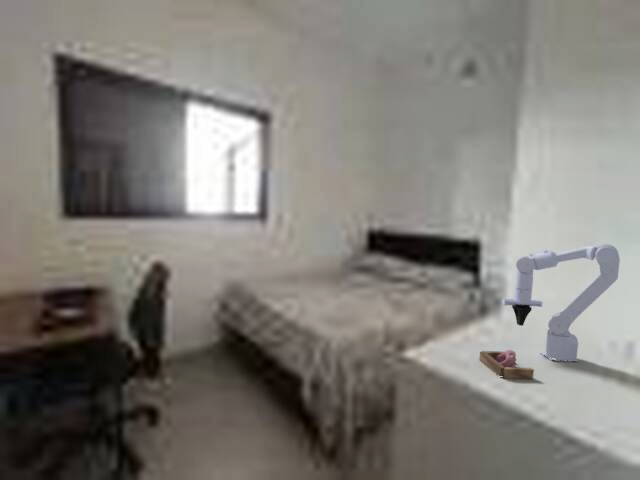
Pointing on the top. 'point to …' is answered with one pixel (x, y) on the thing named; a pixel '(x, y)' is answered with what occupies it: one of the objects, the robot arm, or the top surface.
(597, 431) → the top surface
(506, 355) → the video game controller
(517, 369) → the docking bay
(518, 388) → the top surface
